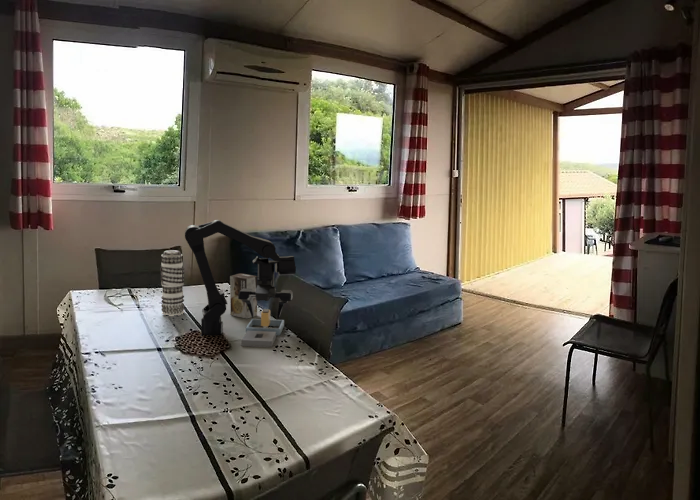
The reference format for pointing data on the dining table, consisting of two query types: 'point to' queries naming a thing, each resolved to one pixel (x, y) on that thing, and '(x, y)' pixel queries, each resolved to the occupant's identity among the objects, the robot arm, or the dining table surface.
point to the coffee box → (236, 285)
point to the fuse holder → (258, 339)
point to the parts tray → (272, 323)
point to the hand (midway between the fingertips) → (265, 317)
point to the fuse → (265, 318)
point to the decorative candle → (172, 283)
